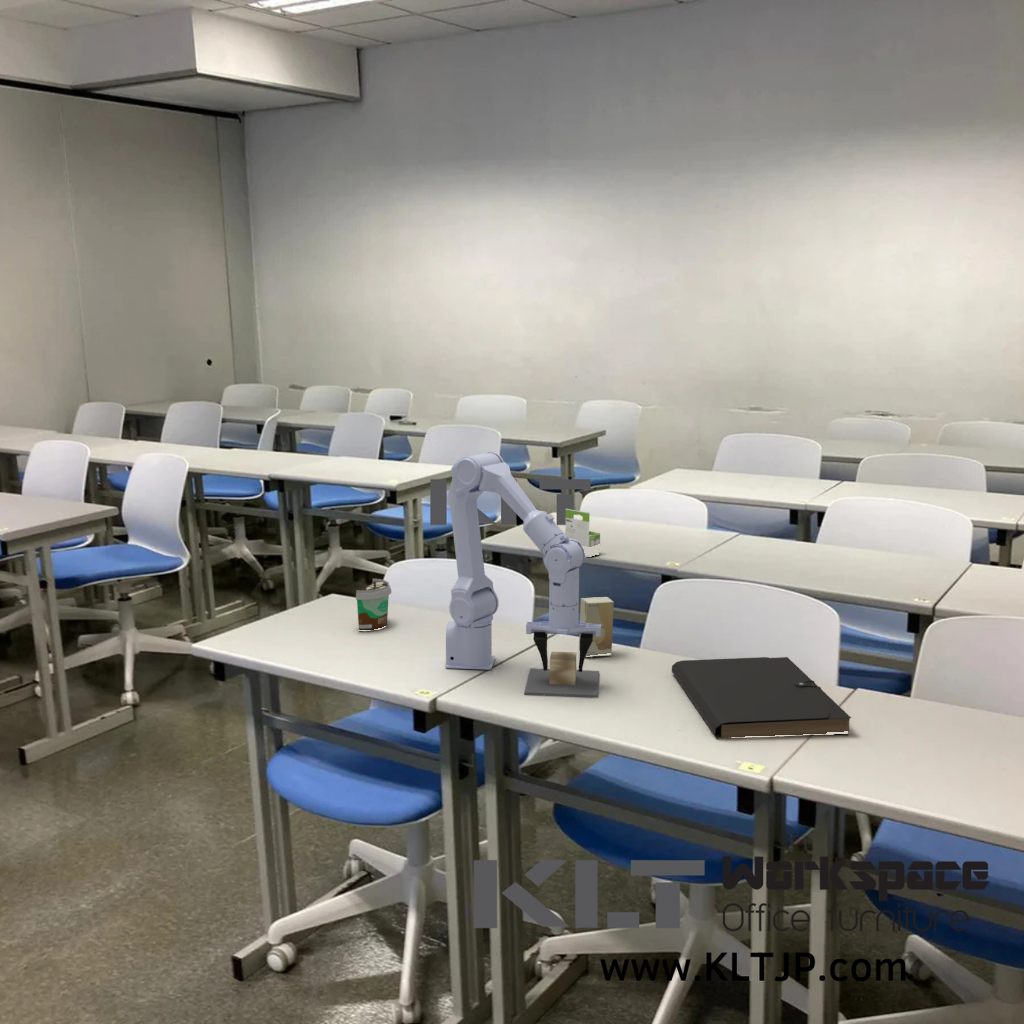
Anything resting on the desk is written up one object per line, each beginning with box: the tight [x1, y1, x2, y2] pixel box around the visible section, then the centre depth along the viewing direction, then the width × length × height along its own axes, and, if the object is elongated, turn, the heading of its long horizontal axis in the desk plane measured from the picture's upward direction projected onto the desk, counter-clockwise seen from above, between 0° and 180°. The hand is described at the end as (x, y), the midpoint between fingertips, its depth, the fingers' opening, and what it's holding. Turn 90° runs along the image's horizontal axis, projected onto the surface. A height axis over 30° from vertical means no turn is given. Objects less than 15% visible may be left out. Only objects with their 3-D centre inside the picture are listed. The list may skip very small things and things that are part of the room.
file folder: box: [671, 656, 852, 739], centre depth 196 cm, size 33×4×24 cm
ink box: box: [564, 508, 601, 547], centre depth 318 cm, size 10×5×14 cm, turn 43°
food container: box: [355, 578, 392, 631], centre depth 242 cm, size 12×6×10 cm, turn 168°
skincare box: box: [578, 596, 615, 656], centre depth 222 cm, size 6×4×12 cm
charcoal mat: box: [523, 667, 600, 698], centre depth 205 cm, size 14×14×1 cm
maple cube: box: [549, 651, 577, 685], centre depth 206 cm, size 5×5×5 cm
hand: (563, 669), depth 205 cm, fingers open, 6 cm apart
